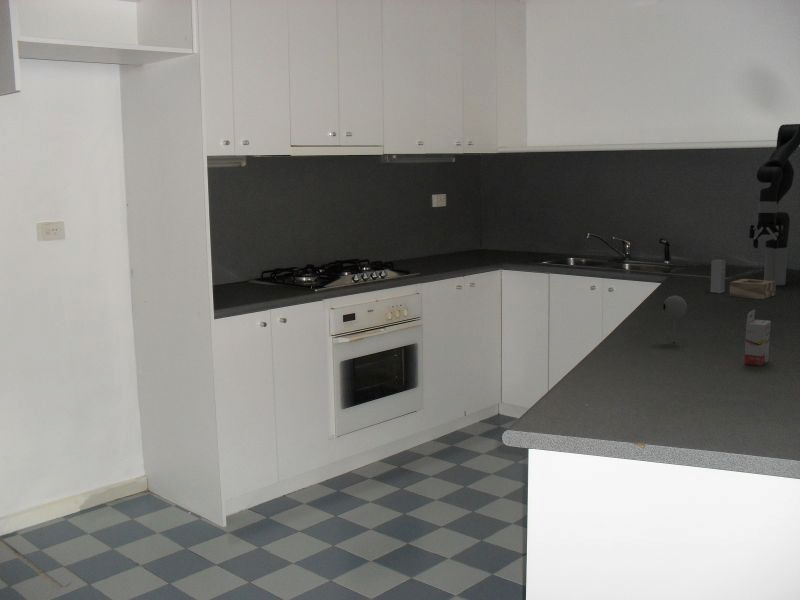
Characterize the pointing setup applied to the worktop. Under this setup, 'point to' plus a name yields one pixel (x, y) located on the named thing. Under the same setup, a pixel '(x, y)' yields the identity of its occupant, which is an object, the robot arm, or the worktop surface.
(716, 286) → the grey square pillar
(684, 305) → the lollipop
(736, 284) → the well block
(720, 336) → the worktop surface
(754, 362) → the ink cartridge box
